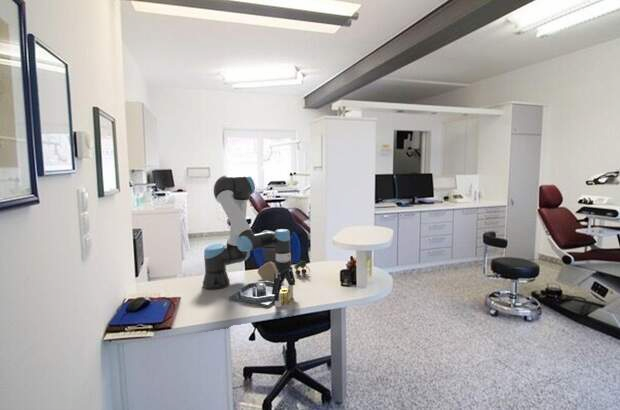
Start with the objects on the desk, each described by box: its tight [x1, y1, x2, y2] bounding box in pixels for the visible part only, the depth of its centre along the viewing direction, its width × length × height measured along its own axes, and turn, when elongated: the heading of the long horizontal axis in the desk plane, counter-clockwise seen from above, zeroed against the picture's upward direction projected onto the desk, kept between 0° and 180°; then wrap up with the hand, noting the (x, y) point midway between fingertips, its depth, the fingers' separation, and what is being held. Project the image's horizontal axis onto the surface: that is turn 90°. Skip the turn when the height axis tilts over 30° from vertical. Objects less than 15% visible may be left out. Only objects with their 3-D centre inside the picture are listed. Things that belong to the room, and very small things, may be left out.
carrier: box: [228, 280, 288, 308], centre depth 179 cm, size 24×24×6 cm
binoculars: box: [293, 260, 311, 278], centre depth 209 cm, size 9×9×10 cm
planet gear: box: [279, 289, 292, 306], centre depth 170 cm, size 6×6×6 cm
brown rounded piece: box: [257, 261, 278, 282], centre depth 202 cm, size 13×8×15 cm
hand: (284, 301), depth 170 cm, fingers open, 12 cm apart
